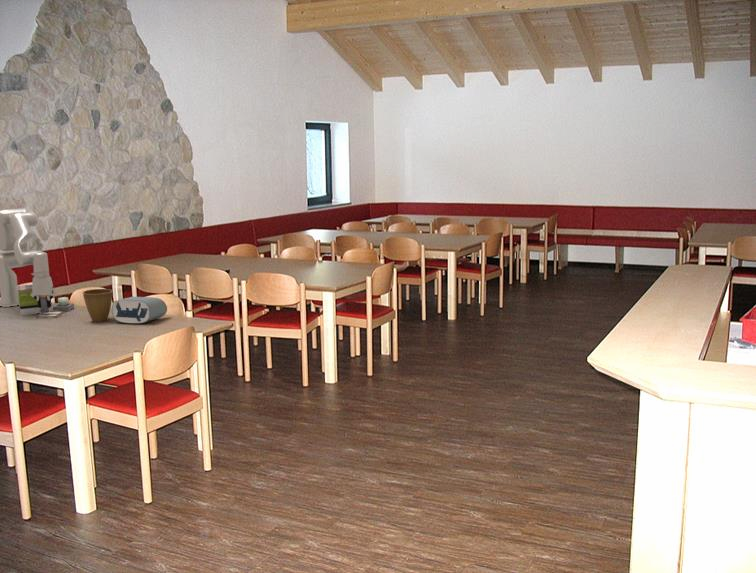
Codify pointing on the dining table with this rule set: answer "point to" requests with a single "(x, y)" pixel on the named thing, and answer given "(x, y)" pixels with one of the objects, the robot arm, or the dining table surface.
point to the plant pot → (98, 303)
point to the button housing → (64, 307)
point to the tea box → (27, 300)
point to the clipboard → (51, 313)
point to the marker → (44, 304)
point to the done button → (62, 301)
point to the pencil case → (138, 309)
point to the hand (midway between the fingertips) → (44, 307)
